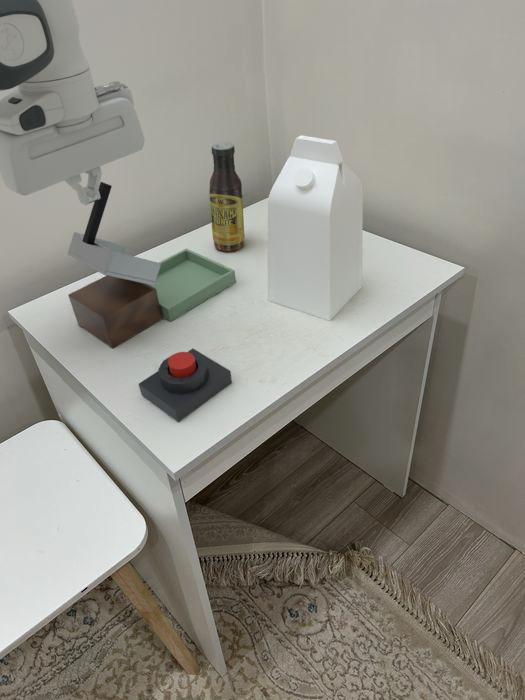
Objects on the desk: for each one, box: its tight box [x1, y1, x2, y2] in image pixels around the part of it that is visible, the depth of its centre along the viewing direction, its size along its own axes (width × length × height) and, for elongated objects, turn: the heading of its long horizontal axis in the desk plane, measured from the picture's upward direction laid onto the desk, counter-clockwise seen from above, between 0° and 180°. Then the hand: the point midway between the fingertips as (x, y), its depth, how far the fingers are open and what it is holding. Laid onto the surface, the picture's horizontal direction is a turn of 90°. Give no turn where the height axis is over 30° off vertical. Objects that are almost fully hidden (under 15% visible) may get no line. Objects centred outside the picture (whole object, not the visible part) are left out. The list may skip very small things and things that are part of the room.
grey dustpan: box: [67, 181, 161, 286], centre depth 83 cm, size 11×10×12 cm
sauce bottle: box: [208, 141, 245, 252], centre depth 102 cm, size 7×6×20 cm
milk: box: [267, 134, 364, 322], centre depth 85 cm, size 12×12×26 cm
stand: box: [67, 275, 163, 349], centre depth 88 cm, size 10×10×6 cm
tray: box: [148, 248, 237, 322], centre depth 97 cm, size 15×13×2 cm
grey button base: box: [138, 348, 233, 423], centre depth 75 cm, size 10×8×4 cm
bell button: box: [168, 351, 196, 378], centre depth 74 cm, size 4×4×2 cm
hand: (90, 201), depth 77 cm, fingers closed
